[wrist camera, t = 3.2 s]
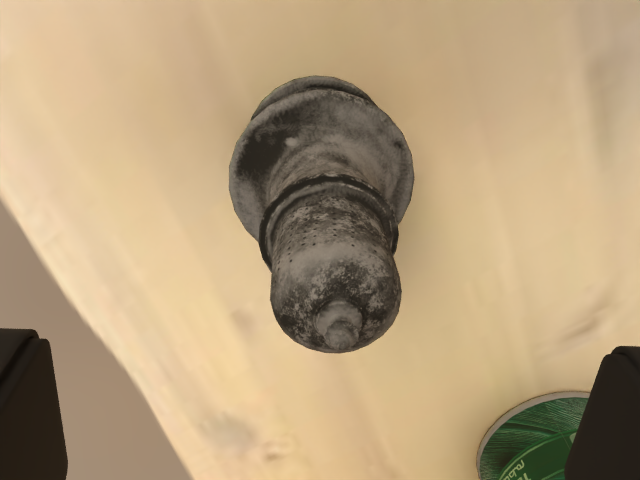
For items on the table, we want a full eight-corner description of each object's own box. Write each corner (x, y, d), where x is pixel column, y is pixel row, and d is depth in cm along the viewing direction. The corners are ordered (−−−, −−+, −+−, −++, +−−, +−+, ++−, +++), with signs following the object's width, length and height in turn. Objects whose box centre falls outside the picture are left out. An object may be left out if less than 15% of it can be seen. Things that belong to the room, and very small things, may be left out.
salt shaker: (395, 215, 23) (484, 450, 13) (246, 224, 23) (208, 469, 13) (397, 62, 21) (511, 195, 10) (228, 71, 21) (161, 217, 10)
